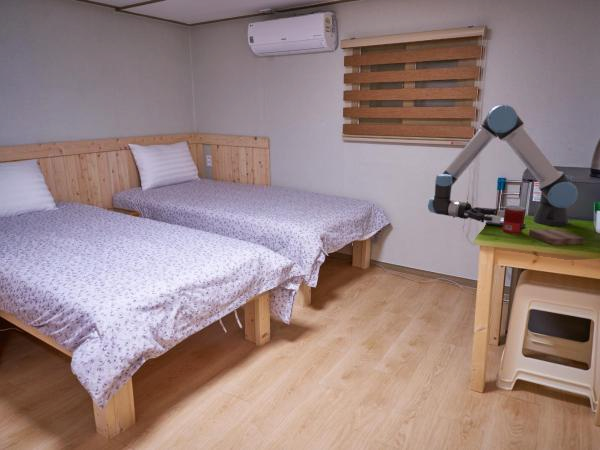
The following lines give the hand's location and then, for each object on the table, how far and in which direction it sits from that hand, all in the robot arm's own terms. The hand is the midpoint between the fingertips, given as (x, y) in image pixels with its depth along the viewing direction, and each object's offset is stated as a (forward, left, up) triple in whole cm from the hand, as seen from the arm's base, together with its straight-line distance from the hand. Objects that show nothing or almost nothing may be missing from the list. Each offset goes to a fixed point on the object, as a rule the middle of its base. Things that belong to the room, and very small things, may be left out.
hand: (506, 217), depth 202 cm
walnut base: (-12, +16, -6) cm, 21 cm away
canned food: (-2, +2, -6) cm, 7 cm away
